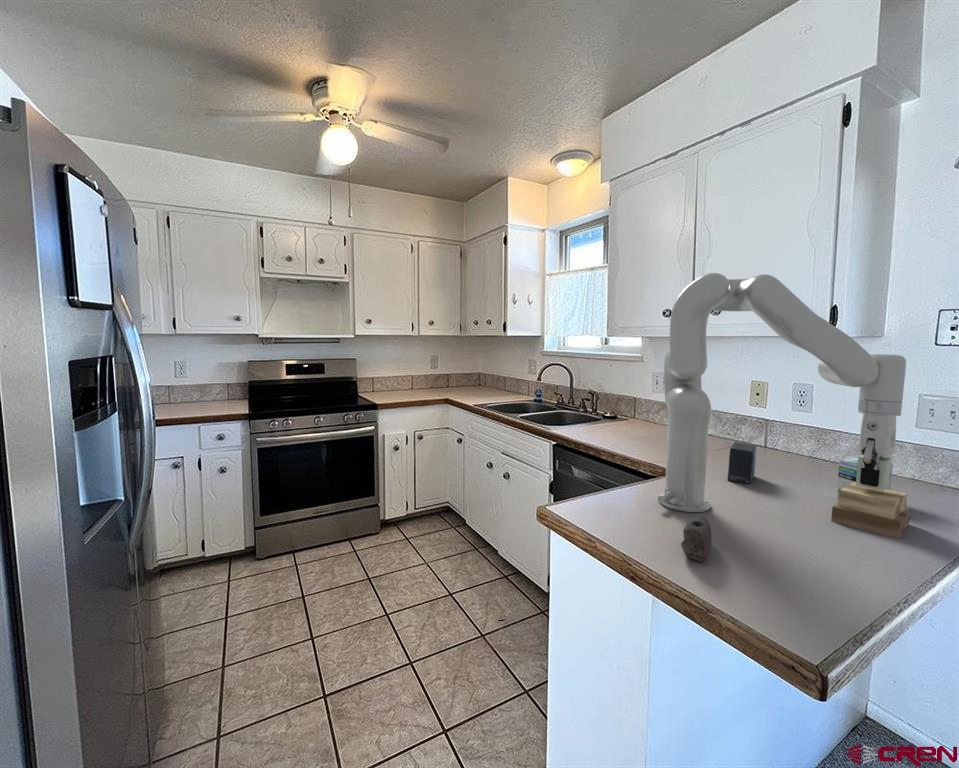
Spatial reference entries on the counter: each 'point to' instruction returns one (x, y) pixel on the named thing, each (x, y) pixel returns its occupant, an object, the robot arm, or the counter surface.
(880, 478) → the sage block
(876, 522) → the walnut slab
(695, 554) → the perforated stone tool
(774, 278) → the robot arm
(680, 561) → the counter surface
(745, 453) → the small box
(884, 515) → the oak slab
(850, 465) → the light bulb box
